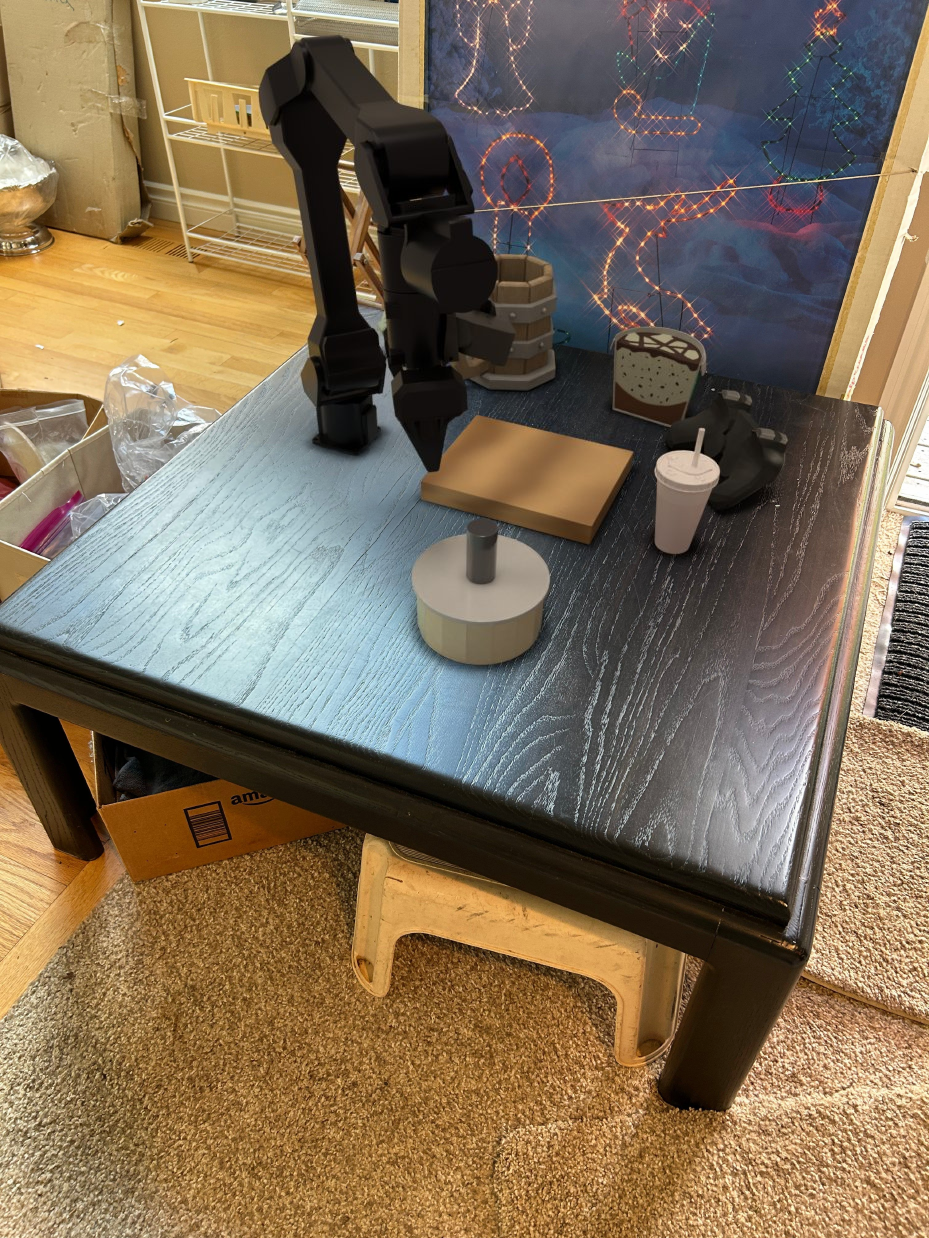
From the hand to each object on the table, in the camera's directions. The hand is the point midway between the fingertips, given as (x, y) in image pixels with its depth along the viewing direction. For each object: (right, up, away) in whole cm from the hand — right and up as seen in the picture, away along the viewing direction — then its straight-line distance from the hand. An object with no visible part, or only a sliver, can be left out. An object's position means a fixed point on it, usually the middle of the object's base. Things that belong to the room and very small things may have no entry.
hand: (428, 450), depth 87 cm
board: (+11, -1, +17) cm, 21 cm away
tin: (+5, -17, 0) cm, 17 cm away
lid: (+5, -13, -4) cm, 14 cm away
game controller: (+34, +1, +20) cm, 39 cm away
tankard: (+7, +17, +37) cm, 41 cm away
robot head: (-6, +22, +42) cm, 48 cm away
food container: (+28, +11, +31) cm, 43 cm away
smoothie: (+26, -8, +10) cm, 29 cm away
